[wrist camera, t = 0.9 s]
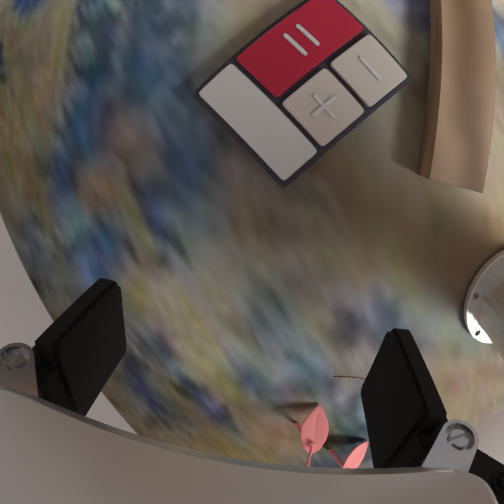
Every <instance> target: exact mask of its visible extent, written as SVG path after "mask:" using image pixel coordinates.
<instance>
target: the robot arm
mask: <svg viewBox="0 0 504 504" xmlns="http://www.w3.org/2000/svg"><path fill="white" fill-rule="evenodd" d="M463 314H464V322H465V325H466V328H467V329H468V331H469V333H470V334H471V335H472V337H473V338H474V339H476V340H478V341H479V342H483V343H493V345H494V346H495V348H496V349H497V350H498V352H499V353H500V355H501V356H502V358H503V359H504V250H502V251H500V252H498V253H496V254H495V255H494V256H493V257H491V258H490V259H489V260H488V261H487V262H486V263H485V264H484V265H483V266H482V267H481V269H480V270H479V272H478V273H477V274H476V276H475V278H474V279H473V281H472V283H471V285H470V287H469V290H468V292H467V295H466V299H465V303H464V311H463ZM35 344H36V345H35V346H34V347H33V348H31V347H30V346H28V345H26V344H24V343H12V344H8V345H6V346H4V347H3V348H2V349H0V504H504V465H503V464H501V463H499V462H498V461H496V460H495V459H493V458H491V457H490V456H488V455H487V454H485V453H483V452H482V451H480V450H478V449H477V447H478V442H479V440H478V435H477V433H476V431H475V430H474V428H473V427H472V426H471V425H469V424H468V423H467V422H464V421H462V420H456V419H455V420H450V421H448V420H447V417H446V415H447V413H446V410H445V408H444V405H443V403H442V401H441V398H440V396H439V394H438V391H437V389H436V387H435V384H434V382H433V380H432V377H431V375H430V373H429V371H428V368H427V366H426V364H425V362H424V360H423V358H422V355H421V353H420V351H419V349H418V347H417V345H416V343H415V341H414V339H413V337H412V335H411V333H410V331H409V330H407V329H397V328H394V329H392V330H391V332H387V333H386V335H385V337H384V340H383V342H382V344H381V347H380V349H379V351H378V353H377V356H376V358H375V360H374V362H373V364H372V367H371V369H370V371H369V373H368V375H367V377H366V379H365V381H364V383H363V386H362V389H361V398H362V403H363V408H364V414H365V419H366V424H367V430H368V436H369V442H370V448H371V454H372V461H373V467H374V468H369V469H360V468H318V467H303V466H291V465H281V464H272V463H264V462H256V461H249V460H243V459H236V458H231V457H225V456H220V455H215V454H210V453H205V452H200V451H196V450H191V449H187V448H183V447H179V446H175V445H171V444H167V443H164V442H160V441H156V440H153V439H149V438H146V437H143V436H139V435H136V434H133V433H130V432H127V431H124V430H121V429H118V428H115V427H112V426H109V425H107V424H104V423H101V422H98V421H96V420H93V419H90V418H88V417H85V416H86V414H87V412H88V411H89V409H90V408H91V406H92V404H93V403H94V401H95V399H96V398H97V396H98V395H99V393H100V392H101V390H102V388H103V387H104V385H105V384H106V382H107V381H108V379H109V377H110V376H111V374H112V373H113V371H114V370H115V368H116V366H117V365H118V363H119V362H120V360H121V359H122V357H123V356H124V354H125V351H126V337H125V328H124V319H123V308H122V297H121V288H120V287H119V286H117V283H116V282H115V281H112V280H108V279H104V278H100V279H99V280H97V281H96V282H95V283H94V284H93V285H92V286H91V287H90V288H89V289H88V290H87V291H86V292H85V293H83V294H82V295H81V296H80V297H79V298H78V299H77V300H76V301H75V302H74V303H73V304H72V305H71V306H70V307H69V308H68V309H67V310H66V311H65V312H64V313H63V314H62V315H61V316H60V317H58V318H57V319H56V320H55V321H54V322H53V323H52V325H50V327H49V328H47V329H46V330H45V331H44V333H43V334H42V335H41V336H40V337H39V338H38V339H37V340H36V341H35Z"/></svg>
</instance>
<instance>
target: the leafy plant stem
mask: <svg viewBox="0 0 504 504" xmlns="http://www.w3.org/2000/svg"><path fill="white" fill-rule="evenodd" d="M333 377H350V376H333ZM366 377H367V376H366ZM352 378H359V377H352ZM361 379H364V378H361ZM295 426H296V428H297V429H298V430H299V432H300V438H301V443H302V447H303V448H304V449H305V450H306V451H307V452H308V453H309V454H308V458H307V462H306V466H305V467H308V466H309V462H310V458H311V454H312V453H314V452H316V451H318V450H320V449H321V447H322V445H323V444H324V442H325V441H326V439H327V436H328V432H329V429H328V421H327V418H326V416H325V413H324V411H323V409H322V407H321V405H319V406H318V407H316V408H315V409H314V410H313V411H312V412H311V413H310V414H309V415H308V416H307V418H306V419H305V421H304V423H303V424H302V426H300V425H299V424H298V422H296V423H295ZM368 443H369V441H366V442H363V443H361V444H359V445H357V446H356V447H355V448H354V449H353V450H352V451H351V452H350V453H349V455H348V456H347V457H346V459H345V461H344V463H342V462H341V460H340V459H339V458H338V457H337V456H336V454H335V453H334V452H333V451H332V449H329V450H328V451H329V452H330V454H331V455H332V456H333V457H334V459H335V460H336V461H337V463H338V464H339V465H340V466H341V468H357V467H358V466H359V464H360V463H361V461H362V459H363V457H364V455H365V452H366V449H367V446H368Z"/></svg>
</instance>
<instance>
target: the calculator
mask: <svg viewBox="0 0 504 504" xmlns="http://www.w3.org/2000/svg"><path fill="white" fill-rule="evenodd" d="M410 81H411V77H410V75H409V74H408V72H407V71H406V70H405V69H404V68H403V66H402V65H401V64H400V63H399V62H398V61H397V60H396V58H395V57H394V56H393V55H392V54H391V53H390V52H389V51H388V49H387V48H386V47H385V46H384V45H383V44H382V43H381V42H380V41H379V40H378V39H377V38H376V37H375V36H374V35H373V34H372V33H371V31H370V30H369V29H368V28H367V27H366V26H365V25H363V24H362V23H361V22H360V21H359V20H358V19H357V18H356V17H355V16H354V15H353V14H352V13H351V12H350V11H349V10H348V9H347V8H345V7H344V6H343V5H342V4H341V3H340V2H339V1H338V0H304V1H302V2H301V3H300V4H298V5H297V6H295V7H294V8H293V9H291V10H290V11H288V12H287V13H286V14H284V15H283V16H282V17H280V18H279V19H278V20H276V21H275V22H274V23H272V24H271V25H270V26H269V27H267V28H266V29H265V30H263V31H262V32H261V33H260V34H258V35H257V36H256V37H255V38H253V39H252V40H251V41H250V42H249V43H247V44H246V45H245V46H244V47H243V48H241V49H240V50H239V51H238V52H237V53H236V54H235V55H233V56H232V57H231V58H230V59H229V60H228V61H227V62H225V63H224V64H223V65H222V66H221V67H220V68H219V69H218V70H217V71H215V72H214V73H213V74H212V75H211V76H210V77H209V78H208V79H207V80H206V81H205V82H204V83H203V84H202V85H201V86H200V87H199V88H197V90H196V91H195V92H194V97H195V99H196V100H197V101H198V102H199V103H201V104H202V105H203V106H204V107H205V108H206V109H207V110H208V111H209V112H210V113H211V114H212V115H213V116H214V117H215V118H216V119H217V120H218V121H219V122H220V123H221V124H222V125H223V126H224V127H225V128H226V129H227V130H228V131H229V132H230V133H231V134H232V136H233V137H234V138H235V139H236V140H237V141H238V142H239V143H240V144H241V145H242V146H243V147H244V148H245V149H246V150H247V151H248V152H249V153H250V154H251V155H252V156H253V157H254V158H255V159H256V161H257V162H258V163H259V164H260V165H261V166H262V167H263V168H264V169H265V170H266V171H267V172H268V173H269V174H270V175H271V177H272V178H273V179H274V180H275V181H276V182H277V183H278V184H279V185H280V186H282V187H285V186H287V185H288V184H290V183H291V182H292V181H293V180H294V179H295V178H297V177H298V176H299V175H300V174H301V173H302V172H303V171H305V170H306V169H307V168H308V167H309V166H310V165H311V164H313V163H314V162H315V161H316V160H317V159H318V158H320V157H321V156H322V155H323V154H324V153H325V152H327V151H328V150H329V149H330V148H331V147H332V146H334V145H335V144H336V143H337V142H338V141H339V140H341V139H342V138H343V137H344V136H345V135H347V134H348V133H349V132H350V131H351V130H352V129H354V128H355V127H356V126H357V125H358V124H360V123H361V122H362V121H363V120H364V119H366V118H367V117H368V116H369V115H370V114H372V113H373V112H374V111H375V110H376V109H378V108H379V107H380V106H381V105H382V104H384V103H385V102H386V101H387V100H388V99H390V98H391V97H392V96H393V95H394V94H396V93H397V92H398V91H399V90H401V89H402V88H403V87H404V86H405V85H407V84H408V83H409V82H410Z"/></svg>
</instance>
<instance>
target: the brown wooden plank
mask: <svg viewBox="0 0 504 504" xmlns="http://www.w3.org/2000/svg"><path fill="white" fill-rule="evenodd" d="M429 4H430V63H429V82H428V95H427V107H426V116H425V125H424V133H423V141H422V148H421V155H420V161H419V168H418V173H417V174H419V175H421V176H423V177H426V178H428V179H431V180H435V181H439V182H443V183H447V184H451V185H455V186H458V187H462V188H466V189H469V190H473V191H476V192H480V193H483V188H484V183H485V178H486V172H487V166H488V160H489V153H490V146H491V138H492V129H493V118H494V105H495V82H496V53H495V32H494V19H493V9H492V1H491V0H429Z"/></svg>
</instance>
